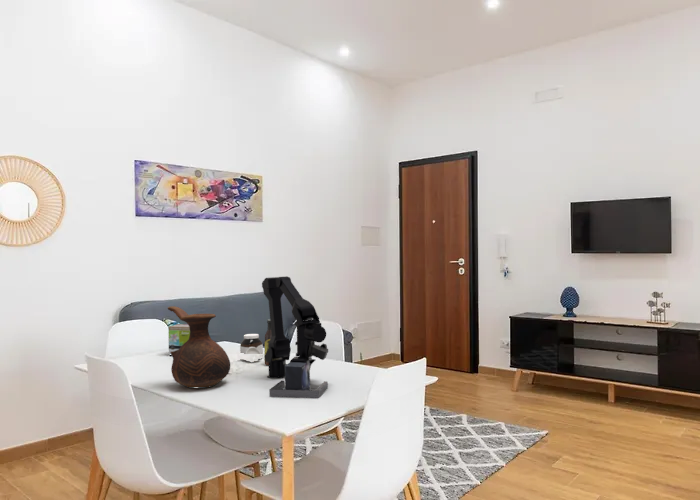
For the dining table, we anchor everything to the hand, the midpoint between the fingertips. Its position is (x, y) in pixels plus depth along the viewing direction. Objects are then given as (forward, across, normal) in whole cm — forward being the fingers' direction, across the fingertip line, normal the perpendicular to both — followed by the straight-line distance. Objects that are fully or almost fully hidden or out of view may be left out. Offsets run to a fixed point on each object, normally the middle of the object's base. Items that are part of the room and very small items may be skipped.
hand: (305, 380), depth 203 cm
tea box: (+5, +56, +76) cm, 95 cm away
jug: (+3, -2, +41) cm, 41 cm away
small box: (+2, -10, 0) cm, 10 cm away
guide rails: (+2, -9, 0) cm, 9 cm away
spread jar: (+4, +44, +37) cm, 58 cm away
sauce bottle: (+3, +36, +25) cm, 44 cm away
